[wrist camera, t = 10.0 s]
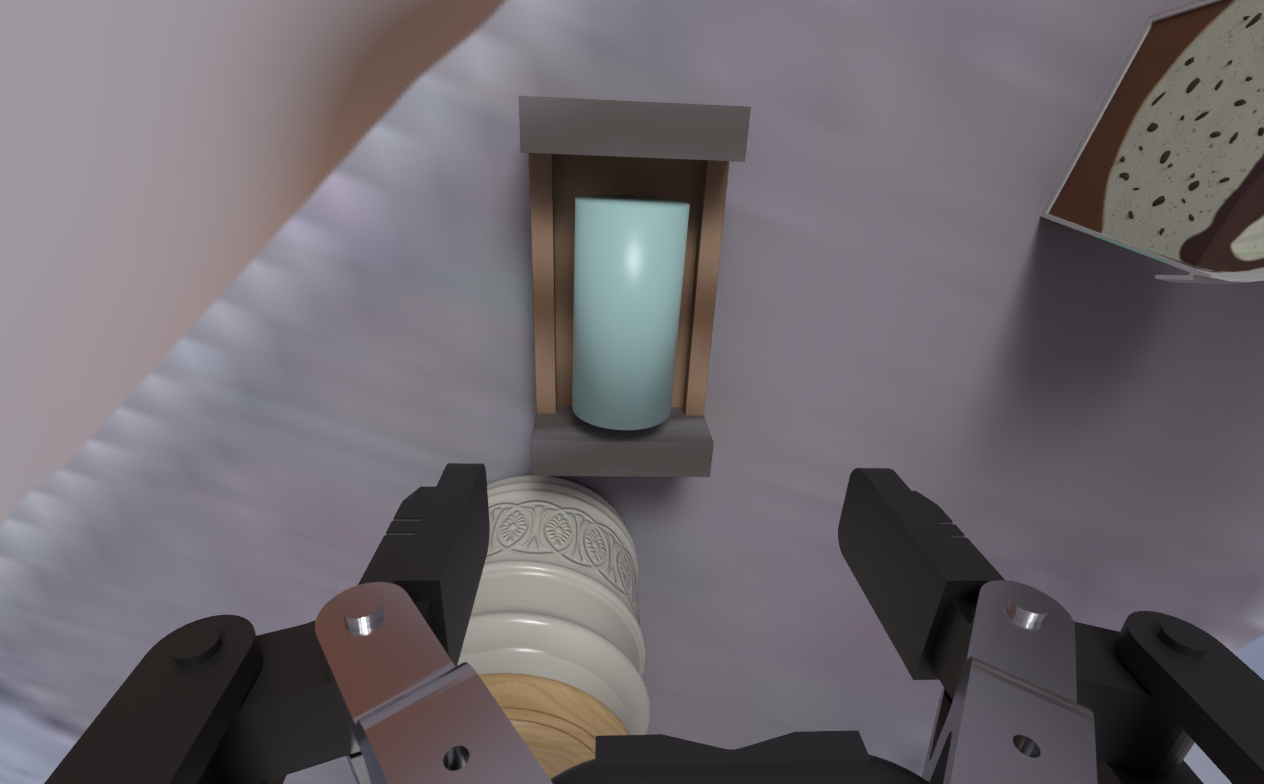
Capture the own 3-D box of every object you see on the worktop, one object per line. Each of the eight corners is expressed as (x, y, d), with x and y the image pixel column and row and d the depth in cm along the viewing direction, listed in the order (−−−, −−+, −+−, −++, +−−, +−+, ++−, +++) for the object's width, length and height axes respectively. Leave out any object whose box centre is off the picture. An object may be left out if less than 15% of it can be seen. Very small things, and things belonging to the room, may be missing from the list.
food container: (1119, 274, 32) (1324, 331, 23) (1025, 244, 31) (1200, 290, 22) (1275, 25, 28) (1609, -27, 18) (1169, -20, 27) (1467, -98, 17)
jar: (397, 569, 38) (249, 891, 22) (512, 430, 34) (435, 696, 18) (558, 655, 42) (532, 982, 26) (677, 538, 38) (734, 836, 22)
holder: (533, 102, 27) (518, 95, 22) (723, 111, 28) (750, 106, 23) (541, 425, 34) (531, 475, 29) (693, 427, 35) (709, 476, 30)
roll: (551, 197, 25) (642, 211, 22) (625, 193, 29) (711, 204, 26) (551, 406, 29) (628, 441, 26) (616, 379, 33) (690, 407, 30)
